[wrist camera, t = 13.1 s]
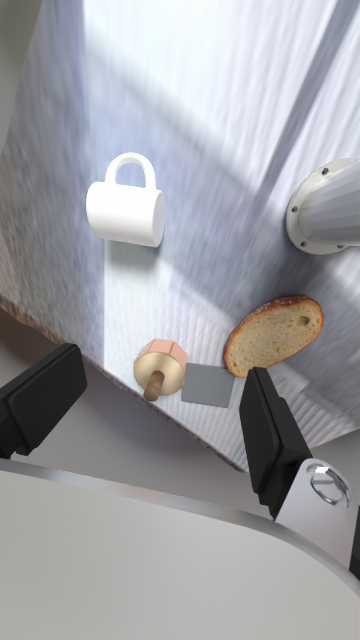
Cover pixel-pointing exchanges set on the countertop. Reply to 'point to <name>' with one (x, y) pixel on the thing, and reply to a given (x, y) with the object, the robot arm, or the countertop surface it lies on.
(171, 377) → the lid
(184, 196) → the countertop surface
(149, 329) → the countertop surface
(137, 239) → the mug
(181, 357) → the bowl
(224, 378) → the mat
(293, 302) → the bread slice
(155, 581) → the robot arm
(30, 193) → the countertop surface
